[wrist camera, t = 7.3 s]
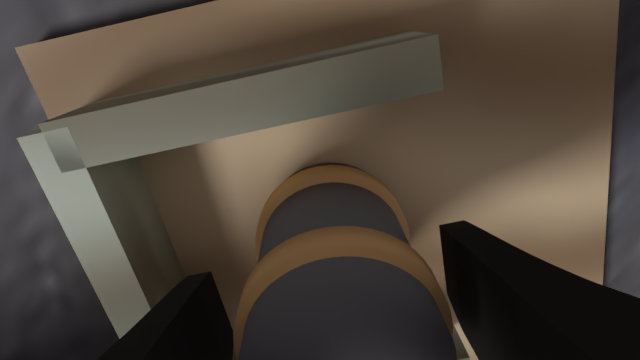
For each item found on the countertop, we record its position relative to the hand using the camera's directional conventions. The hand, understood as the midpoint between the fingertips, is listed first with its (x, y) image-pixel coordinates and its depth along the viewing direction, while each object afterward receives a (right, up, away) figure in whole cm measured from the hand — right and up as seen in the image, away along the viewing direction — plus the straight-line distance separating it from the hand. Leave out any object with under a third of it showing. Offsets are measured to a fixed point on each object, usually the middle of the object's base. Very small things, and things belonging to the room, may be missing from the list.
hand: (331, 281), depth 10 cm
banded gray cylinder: (0, +1, +3) cm, 3 cm away
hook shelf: (+1, 0, +4) cm, 4 cm away
